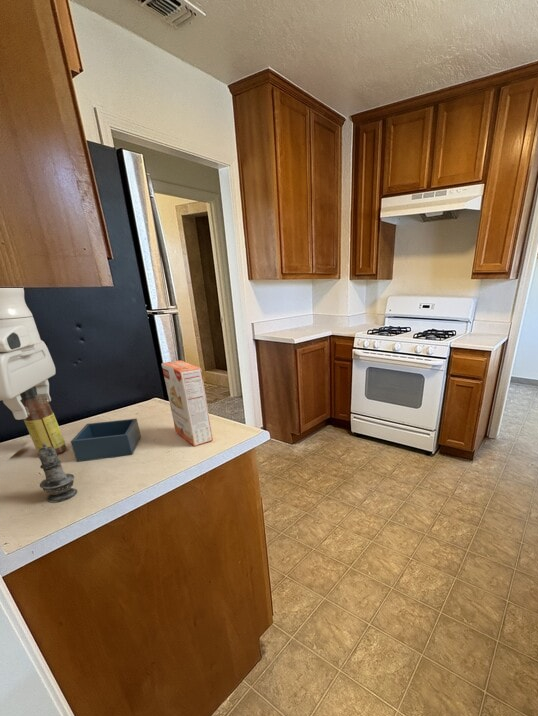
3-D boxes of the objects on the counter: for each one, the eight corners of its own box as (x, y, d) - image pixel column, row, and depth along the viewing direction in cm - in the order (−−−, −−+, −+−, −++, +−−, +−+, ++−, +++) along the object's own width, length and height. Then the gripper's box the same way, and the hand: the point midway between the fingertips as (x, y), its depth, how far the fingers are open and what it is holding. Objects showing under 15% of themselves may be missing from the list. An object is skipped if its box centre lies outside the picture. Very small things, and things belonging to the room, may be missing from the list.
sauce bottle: (64, 445, 97) (40, 374, 90) (69, 452, 93) (45, 378, 86) (35, 452, 93) (7, 379, 85) (39, 460, 89) (10, 384, 81)
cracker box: (174, 432, 105) (160, 362, 96) (194, 427, 108) (182, 359, 100) (192, 447, 95) (178, 370, 87) (213, 441, 98) (202, 366, 90)
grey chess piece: (72, 485, 78) (54, 435, 73) (83, 493, 74) (66, 441, 70) (40, 497, 73) (20, 445, 69) (51, 506, 70) (31, 452, 65)
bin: (77, 461, 88) (70, 441, 86) (92, 442, 99) (86, 423, 97) (132, 454, 91) (127, 435, 89) (141, 436, 102) (136, 418, 100)
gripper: (15, 330, 70) (39, 396, 76) (-53, 345, 52) (-15, 431, 57) (51, 328, 72) (72, 393, 77) (-2, 342, 54) (30, 426, 59)
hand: (34, 410), depth 67 cm, fingers open, 8 cm apart
